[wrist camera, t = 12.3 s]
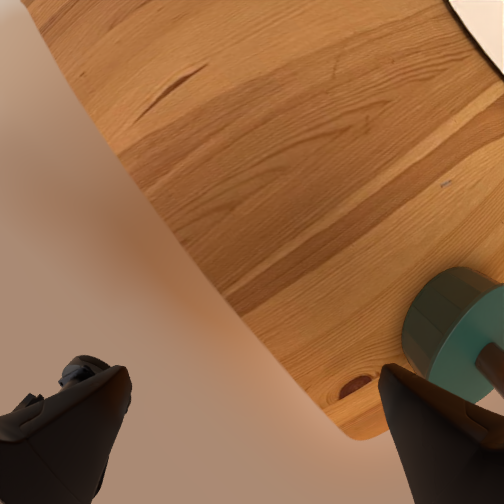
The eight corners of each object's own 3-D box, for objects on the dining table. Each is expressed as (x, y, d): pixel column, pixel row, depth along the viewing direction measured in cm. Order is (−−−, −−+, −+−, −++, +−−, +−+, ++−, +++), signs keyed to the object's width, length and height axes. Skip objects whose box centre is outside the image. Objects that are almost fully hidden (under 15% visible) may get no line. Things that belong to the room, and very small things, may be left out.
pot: (416, 384, 22) (439, 422, 16) (385, 311, 20) (418, 349, 15) (490, 326, 20) (522, 353, 15) (474, 244, 19) (519, 262, 13)
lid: (432, 423, 17) (458, 471, 11) (404, 343, 15) (449, 404, 9) (522, 349, 15) (558, 381, 9) (516, 250, 13) (573, 274, 7)
